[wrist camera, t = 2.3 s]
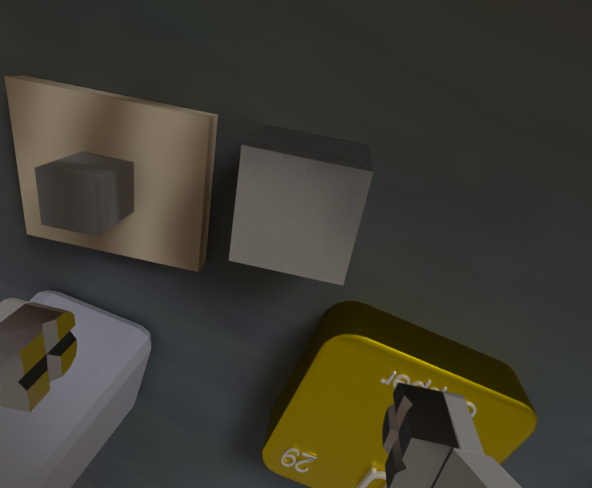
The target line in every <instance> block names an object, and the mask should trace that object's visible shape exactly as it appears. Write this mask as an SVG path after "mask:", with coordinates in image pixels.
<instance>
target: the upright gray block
mask: <svg viewBox="0 0 592 488" xmlns="http://www.w3.org/2000/svg"><path fill="white" fill-rule="evenodd" d="M372 175H373V167H372V162H371V156H370V150H369V145H365V144H360V143H355V142H350V141H345V140H340V139H335V138H330V137H325V136H320V135H315V134H311V133H306V132H301V131H296V130H291V129H286V128H281V127H276V126H271V125H267V126H265V127H264V128H263V129H261V130H260V131H259V132H258V133H256V134H255V135H254V136H252V137H251V138H250V139H249V140H247V141H246V142H245V143H243V144H242V146H241V155H240V164H239V173H238V182H237V191H236V200H235V209H234V218H233V226H232V235H231V244H230V253H229V261H233V262H238V263H242V264H247V265H251V266H256V267H261V268H265V269H270V270H274V271H279V272H283V273H288V274H293V275H297V276H302V277H306V278H311V279H315V280H320V281H325V282H329V283H334V284H338V285H343V284H344V280H345V277H346V273H347V269H348V265H349V262H350V258H351V254H352V250H353V246H354V243H355V239H356V235H357V231H358V228H359V224H360V220H361V216H362V213H363V209H364V205H365V201H366V198H367V194H368V190H369V186H370V183H371V179H372Z"/></svg>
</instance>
